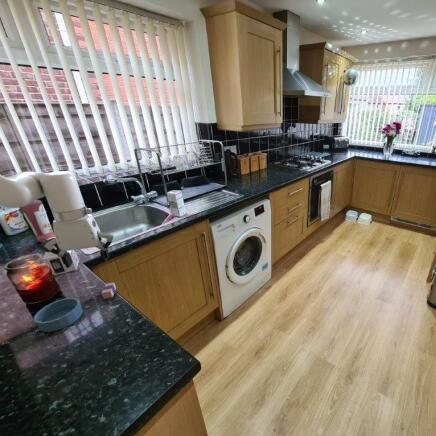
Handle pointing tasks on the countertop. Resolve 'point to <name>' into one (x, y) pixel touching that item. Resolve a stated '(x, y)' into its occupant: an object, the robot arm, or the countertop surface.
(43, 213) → the liquor
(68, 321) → the bowl
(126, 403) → the countertop surface
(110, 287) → the eraser
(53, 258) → the container
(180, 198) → the syrup box
